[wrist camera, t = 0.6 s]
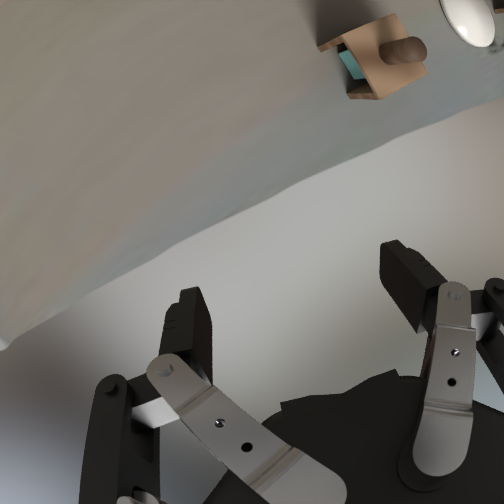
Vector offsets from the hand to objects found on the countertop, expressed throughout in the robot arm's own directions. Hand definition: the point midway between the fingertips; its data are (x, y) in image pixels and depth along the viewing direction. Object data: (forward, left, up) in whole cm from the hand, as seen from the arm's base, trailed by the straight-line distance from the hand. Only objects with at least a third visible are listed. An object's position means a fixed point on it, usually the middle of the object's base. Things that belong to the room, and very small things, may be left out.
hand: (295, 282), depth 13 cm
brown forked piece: (-17, +11, -27) cm, 34 cm away
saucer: (-37, +29, -27) cm, 54 cm away
